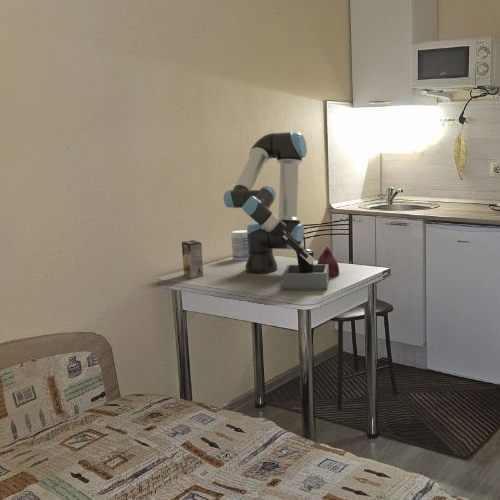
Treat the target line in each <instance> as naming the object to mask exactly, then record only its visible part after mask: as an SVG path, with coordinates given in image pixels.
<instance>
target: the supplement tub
mask: <svg viewBox="0 0 500 500" xmlns="http://www.w3.org/2000/svg"><path fill="white" fill-rule="evenodd" d="M231 252H232V254H231V255H232V260H233V261H236V262H237V261H240V262H243V261H245V262H246V261H247V258H248V240H247V229H246V230H245V229H244V230H243V229H242V230H234V231H233V230H232V231H231Z"/></svg>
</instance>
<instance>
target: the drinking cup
mask: <svg viewBox="0 0 500 500" xmlns="http://www.w3.org/2000/svg"><path fill="white" fill-rule="evenodd" d="M303 246H304V250H305V251H306V252H307V253H308V254H309V255H310V256H312V257H313V258H314V253H315V250H313V249H310V248H307V247H306V236H305V235H304V237H303ZM295 254H296V257H297V258H296V259H297V265H298V266H299V273H313V264H314V262H313V263H312V264H309V263H308V262H307V261H306V260H305V259H304V258H303V257H302V256H300V255H297V252H296V251H295Z"/></svg>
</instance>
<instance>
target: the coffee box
mask: <svg viewBox="0 0 500 500" xmlns="http://www.w3.org/2000/svg"><path fill="white" fill-rule="evenodd" d="M181 250H182V251H181V253H182V265H183V275H184V276H187V277H188V278H191V279H194V278H199V277H204V268H203V267H204V266H203V265H204V264H203V253H202V252H203V251H202V250H203V249H202V242H201V241H198V240H193V239H192V240H185V241H181Z"/></svg>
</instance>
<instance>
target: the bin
mask: <svg viewBox="0 0 500 500" xmlns="http://www.w3.org/2000/svg"><path fill="white" fill-rule="evenodd" d="M329 282H330V277H329V266H328V264H317V263H316V264H315V263H313V273H299V266H298V264H287V265H286V267H285V268H284V270H283V273H282V286H283V287H282V288H283V291H327V290H328V288H327V287H329Z"/></svg>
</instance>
